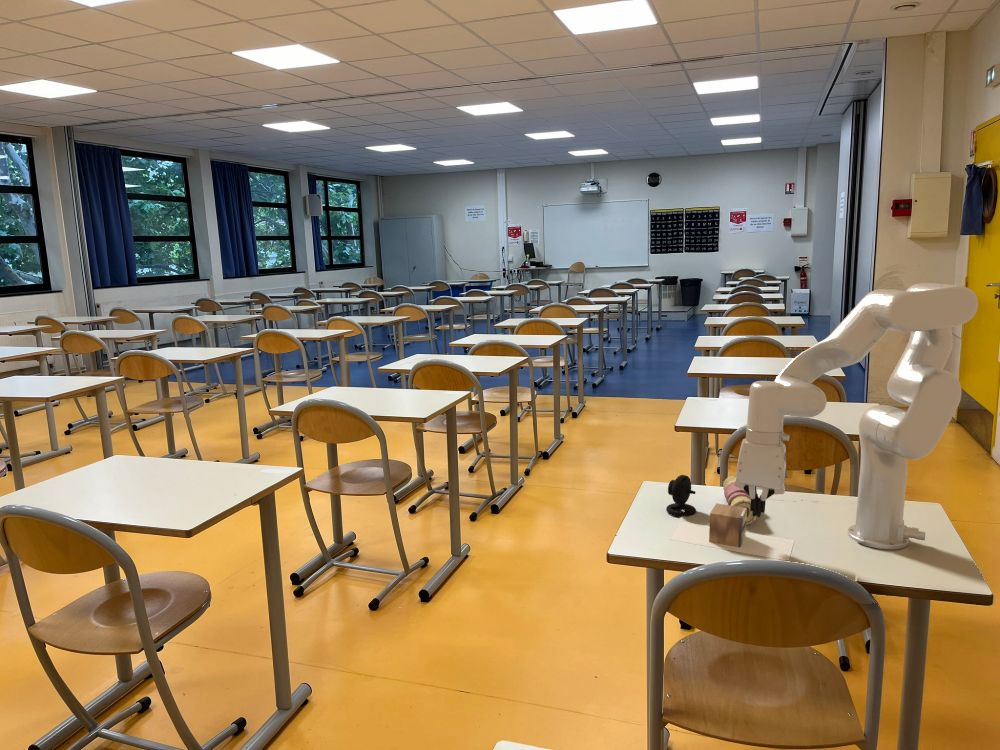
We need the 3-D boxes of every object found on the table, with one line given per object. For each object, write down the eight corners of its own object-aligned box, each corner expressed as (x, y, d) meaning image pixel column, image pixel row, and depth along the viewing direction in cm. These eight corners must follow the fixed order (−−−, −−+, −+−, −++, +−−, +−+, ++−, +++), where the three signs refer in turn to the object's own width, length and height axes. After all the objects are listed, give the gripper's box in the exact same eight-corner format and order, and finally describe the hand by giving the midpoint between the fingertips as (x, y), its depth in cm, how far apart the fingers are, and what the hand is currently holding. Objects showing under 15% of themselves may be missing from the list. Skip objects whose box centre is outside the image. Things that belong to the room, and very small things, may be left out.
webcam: (674, 504, 188) (675, 468, 186) (701, 511, 183) (702, 474, 181) (660, 513, 182) (661, 476, 180) (687, 520, 177) (688, 482, 176)
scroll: (766, 523, 171) (757, 495, 190) (754, 495, 170) (745, 470, 189) (735, 533, 173) (729, 504, 192) (723, 506, 173) (718, 480, 192)
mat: (794, 541, 164) (794, 540, 164) (788, 562, 153) (788, 560, 153) (682, 522, 176) (682, 521, 176) (669, 540, 165) (669, 539, 165)
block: (746, 508, 165) (716, 503, 168) (741, 518, 159) (710, 513, 162) (745, 536, 166) (715, 531, 170) (740, 547, 160) (709, 541, 163)
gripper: (801, 437, 157) (794, 515, 160) (732, 428, 164) (726, 503, 167) (798, 445, 150) (790, 527, 154) (726, 435, 157) (720, 514, 160)
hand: (757, 514), depth 160 cm, fingers closed
